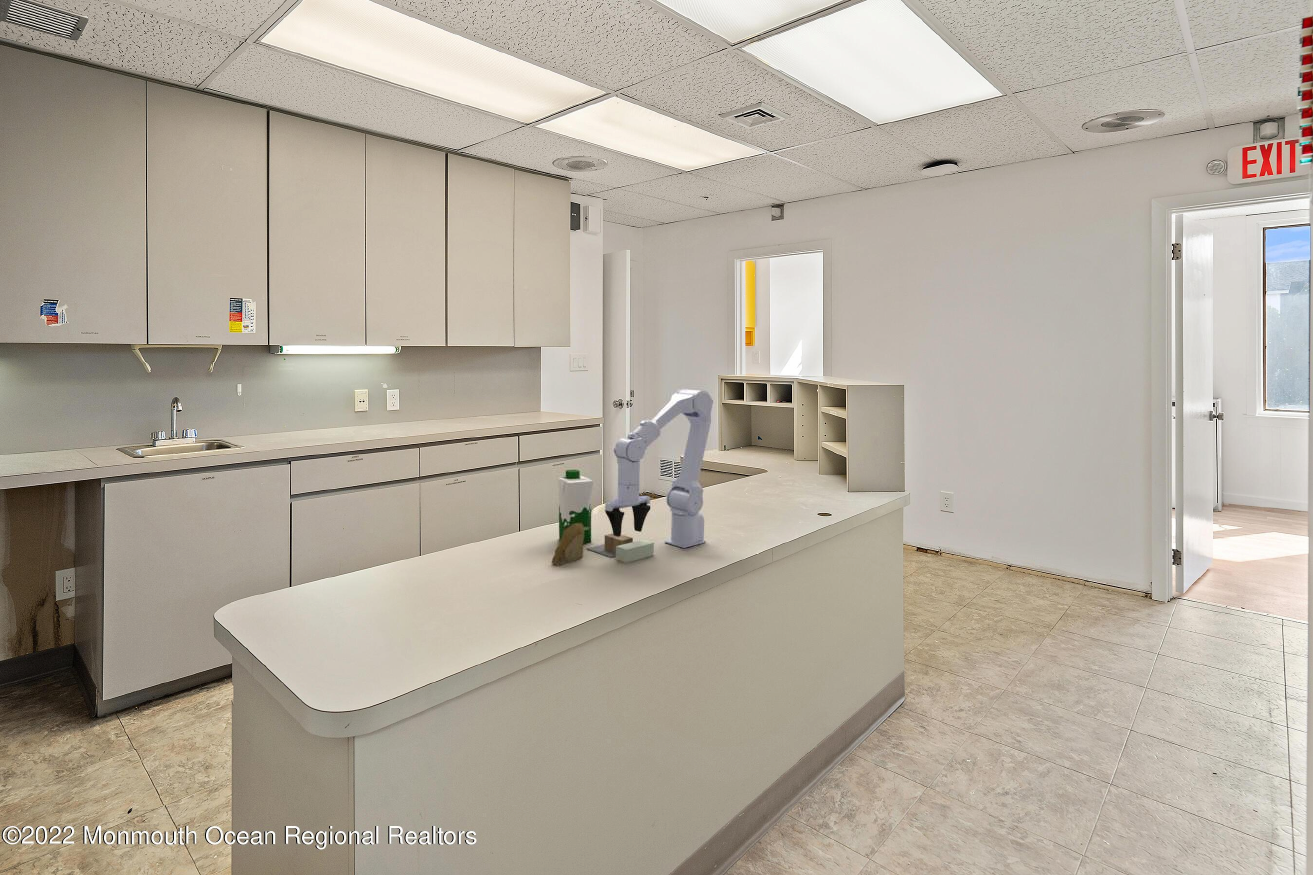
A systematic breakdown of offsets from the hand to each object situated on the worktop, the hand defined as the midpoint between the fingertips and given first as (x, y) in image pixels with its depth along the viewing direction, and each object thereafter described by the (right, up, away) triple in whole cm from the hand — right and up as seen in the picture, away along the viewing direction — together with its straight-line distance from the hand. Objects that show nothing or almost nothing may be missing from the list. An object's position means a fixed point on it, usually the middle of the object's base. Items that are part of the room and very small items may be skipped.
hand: (627, 533), depth 184 cm
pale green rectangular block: (+2, -6, -1) cm, 7 cm away
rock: (-16, -7, -5) cm, 18 cm away
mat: (-4, -5, +5) cm, 8 cm away
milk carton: (-16, -4, +13) cm, 21 cm away
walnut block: (0, -4, +1) cm, 4 cm away
